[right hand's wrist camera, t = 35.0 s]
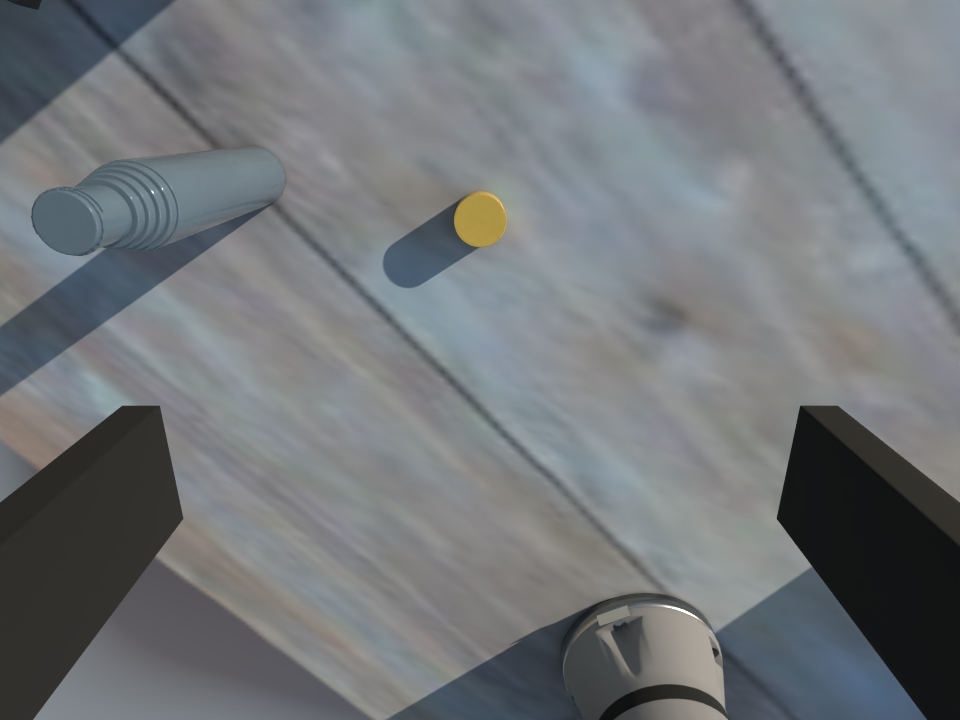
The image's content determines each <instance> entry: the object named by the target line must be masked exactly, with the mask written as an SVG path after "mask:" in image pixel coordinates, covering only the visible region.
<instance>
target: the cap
mask: <svg viewBox="0 0 960 720" xmlns="http://www.w3.org/2000/svg"><path fill="white" fill-rule="evenodd" d="M454 226H455V230H456V232H457V234H458V236H459V237H460V238H461V239H462V240H463V241H464V242H465V243H467V244H469V245H471V246H474V247H486V246H489V245H492V244H494V243H495V242H496V241H498V240H499V239H500V237H501V236H502V235H503V233H504V230H505V227H506V214H505V210H504V207H503V205H502V203H501V202H500V201H499V199H498V198H497V197H495V196H494V195H492V194H490V193H488V192H483V191H477V192H473V193H470V194H468V195H466V196H465V197H464V198H463V199H462V200H461V201H460V202H459V204H458V206H457V208H456V211H455V215H454Z"/></svg>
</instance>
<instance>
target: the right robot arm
mask: <svg viewBox="0 0 960 720" xmlns="http://www.w3.org/2000/svg"><path fill="white" fill-rule="evenodd" d="M182 520H183V515H182V510H181V505H180V501H179V496H178V491H177V486H176V481H175V477H174V472H173V467H172V462H171V457H170V453H169V448H168V443H167V438H166V433H165V429H164V424H163V419H162V414H161V410H160V406H121V407H120V408H119V409H118V410H116V411H115V412H114V413H113V414H111V415H110V416H109V417H108V418H106V419H105V420H104V421H103V422H101V423H100V424H99V425H97V426H96V427H95V428H94V429H92V430H91V431H90V432H89V433H87V434H86V435H85V436H84V437H82V438H81V439H80V440H79V441H77V442H76V443H75V444H74V445H72V446H71V447H70V448H69V449H67V450H66V451H65V452H63V453H62V454H61V455H60V456H58V457H57V458H56V459H55V460H53V461H52V462H51V463H50V464H48V465H47V466H46V467H45V468H43V469H42V470H41V471H40V472H38V473H37V474H36V475H35V476H33V477H32V478H31V479H29V480H28V481H27V482H26V483H24V484H23V485H22V486H21V487H19V488H18V489H17V490H16V491H14V492H13V493H12V494H11V495H9V496H8V497H7V498H6V499H4V500H3V501H2V502H0V720H33V719H34V718H35V716H36V715H37V713H38V712H39V711H40V710H41V708H42V707H43V705H44V704H45V703H46V701H47V700H48V699H49V697H50V696H51V695H52V693H53V692H54V691H55V689H56V688H57V687H58V685H59V684H60V683H61V681H62V680H63V679H64V677H65V676H66V675H67V673H68V672H69V671H70V669H71V668H72V667H73V665H74V664H75V663H76V661H77V660H78V659H79V657H80V656H81V655H82V653H83V652H84V651H85V649H86V648H87V647H88V645H89V644H90V643H91V641H92V640H93V639H94V637H95V636H96V635H97V633H98V632H99V631H100V629H101V628H102V627H103V625H104V624H105V623H106V621H107V620H108V619H109V617H110V616H111V615H112V613H113V612H114V611H115V609H116V608H117V607H118V605H119V604H120V603H121V601H122V600H123V598H124V597H125V596H126V595H127V593H128V592H129V591H130V589H131V588H132V587H133V585H134V584H135V582H136V581H137V580H138V578H139V577H140V576H141V574H142V573H143V572H144V570H145V569H146V568H147V566H148V565H149V564H150V562H151V561H152V560H153V558H154V557H155V556H156V554H157V553H158V552H159V550H160V549H161V548H162V546H163V545H164V544H165V542H166V541H167V540H168V538H169V537H170V536H171V534H172V533H173V532H174V530H175V529H176V528H177V526H178V525H179V524H180V522H181V521H182ZM777 520H778V521H779V522H780V524H781V525H782V526H783V528H784V529H785V530H786V532H787V533H788V534H789V536H790V537H791V538H792V540H793V541H794V542H795V544H796V545H797V546H798V548H799V549H800V550H801V552H802V553H803V554H804V556H805V557H806V558H807V560H808V561H809V562H810V564H811V565H812V566H813V568H814V569H815V570H816V572H817V573H818V574H819V576H820V577H821V578H822V580H823V581H824V582H825V584H826V585H827V587H828V588H829V589H830V591H831V592H832V593H833V595H834V596H835V597H836V599H837V600H838V601H839V603H840V604H841V605H842V607H843V608H844V609H845V611H846V612H847V613H848V615H849V616H850V617H851V619H852V620H853V621H854V623H855V624H856V625H857V627H858V628H859V629H860V631H861V632H862V633H863V635H864V636H865V637H866V639H867V640H868V641H869V643H870V644H871V645H872V647H873V648H874V649H875V651H876V652H877V653H878V655H879V656H880V657H881V659H882V660H883V661H884V663H885V664H886V665H887V667H888V668H889V669H890V671H891V672H892V673H893V675H894V676H895V677H896V679H897V680H898V681H899V683H900V684H901V685H902V687H903V688H904V689H905V691H906V692H907V693H908V695H909V696H910V697H911V699H912V700H913V701H914V703H915V704H916V706H917V707H918V708H919V710H920V711H921V712H922V714H923V715H924V716H925V718H926V719H927V720H960V502H958V501H957V500H956V499H954V498H953V497H952V496H951V495H949V494H948V493H947V492H946V491H944V490H943V489H942V488H941V487H939V486H938V485H937V484H936V483H934V482H933V481H932V480H931V479H929V478H928V477H927V476H926V475H924V474H923V473H922V472H920V471H919V470H918V469H917V468H915V467H914V466H913V465H912V464H910V463H909V462H908V461H907V460H905V459H904V458H903V457H902V456H900V455H899V454H898V453H897V452H895V451H894V450H893V449H891V448H890V447H889V446H888V445H886V444H885V443H884V442H883V441H881V440H880V439H879V438H878V437H876V436H875V435H874V434H873V433H871V432H870V431H869V430H868V429H866V428H865V427H864V426H863V425H861V424H860V423H859V422H857V421H856V420H855V419H854V418H852V417H851V416H850V415H849V414H847V413H846V412H845V411H844V410H842V409H841V408H840V407H839V406H800V410H799V414H798V419H797V424H796V429H795V433H794V438H793V443H792V448H791V453H790V457H789V462H788V467H787V472H786V477H785V481H784V486H783V491H782V496H781V501H780V505H779V510H778V515H777ZM561 665H562V671H563V678H564V683H565V686H566V689H567V691H568V693H569V694H570V696H571V698H572V700H573V701H574V703H575V704H576V706H577V707H578V708H579V710H580V712H581V714H582V716H583V718H584V720H729V717H728V715H727V712H726V710H725V697H724V678H723V662H722V652H721V648H720V645H719V642H718V640H717V638H716V636H715V634H714V632H713V629H712V627H711V625H710V624H709V622H708V621H707V619H706V618H705V617H704V616H703V614H701V613H700V612H699V611H698V610H697V609H696V608H694V607H693V606H691V605H690V604H688V603H686V602H684V601H682V600H679V599H677V598H674V597H670V596H666V595H661V594H652V593H640V594H630V595H625V596H620V597H617V598H613V599H610V600H608V601H605V602H603V603H601V604H599V605H597V606H595V607H594V608H592V609H590V610H589V611H588V612H586V613H585V614H584V615H583V616H581V617H580V618H579V619H578V620H577V621H576V622H575V623H574V625H573V626H572V627H571V629H570V630H569V632H568V633H567V635H566V637H565V640H564V642H563V645H562V650H561Z"/></svg>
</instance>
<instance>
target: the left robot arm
mask: <svg viewBox="0 0 960 720" xmlns="http://www.w3.org/2000/svg"><path fill="white" fill-rule="evenodd" d="M8 1H10V2H12V3H15V4H17V5H21V6H25V7H29V8H33V9H37V10H38V9H39V6H40V3H41V0H8Z"/></svg>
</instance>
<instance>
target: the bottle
mask: <svg viewBox="0 0 960 720" xmlns="http://www.w3.org/2000/svg"><path fill="white" fill-rule="evenodd" d="M285 182H286V178H285V172H284V169H283V166H282V164H281V163H280V161H279V160H278V158H277V157H276V156H275V155H274V154H273V153H271V152H270V151H268V150H267V149H264V148H262V147H258V146H246V147H237V148H227V149H218V150H208V151H199V152H189V153H180V154H170V155H160V156H151V157H141V158H132V159H122V160H116V161H112V162H110V163H108V164H105V165H103V166H100V167H99V168H97V169H96V170H95V171H93V172H92V173H91V174H90V175H89V176H88V177H87V178H85V179H84V180H83V181H82V182H80V183H79V184H78V185H77V186H75V187H58V188H53V189H48V190H47V191H45V192H43V193H42V194H40V195H39V196H38V198H37V199H36V200H35V202H34V205H33V207H32V216H31V218H32V223H33V227H34V229H35V231H36V233H37V234H38V235H39V237H40V238H41V239H42V240H43V241H44V242H45V243H46V244H47V245H48V246H49V247H50V248H52V249H54V250H55V251H57V252H60V253H63V254H67V255H74V256H83V255H88V254H90V253H92V252H94V251H96V250H97V249H98V248H101V247H103V248H110V249H117V250H124V251H131V252H142V251H151V250H155V249H158V248H161V247H163V246H166V245H168V244H171V243H173V242H176V241H178V240H181V239H184V238H186V237H189V236H191V235H194V234H196V233H199V232H201V231H204V230H206V229H209V228H211V227H214V226H217V225H219V224H222V223H224V222H227V221H229V220H232V219H234V218H237V217H239V216H242V215H245V214H247V213H250V212H252V211H255V210H257V209H260V208H262V207H265V206H267V205H270V204H272V203H274V202H275V201H277V200H278V199H279V198H280V196H281V195H282V193H283V191H284V188H285Z"/></svg>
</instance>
